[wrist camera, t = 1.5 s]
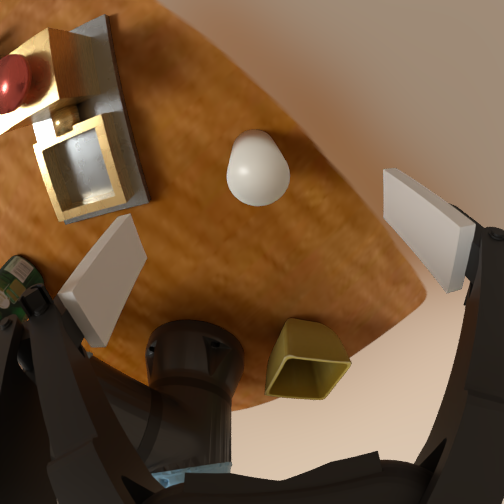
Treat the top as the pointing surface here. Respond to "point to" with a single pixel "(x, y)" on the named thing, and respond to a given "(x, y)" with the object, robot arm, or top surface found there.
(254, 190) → the white rounded cylinder
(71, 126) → the red push button box
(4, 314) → the coffee jar
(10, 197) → the top surface
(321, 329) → the flower pot
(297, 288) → the top surface
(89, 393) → the robot arm
